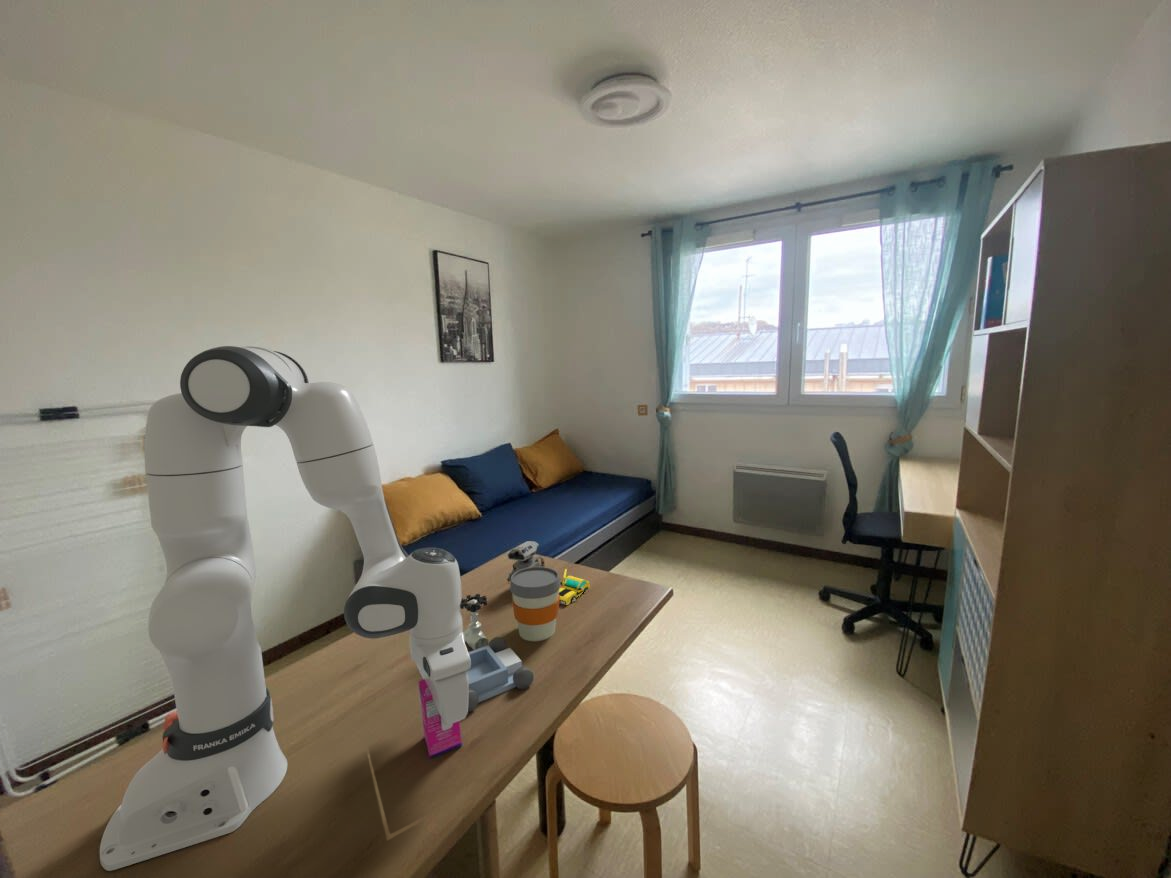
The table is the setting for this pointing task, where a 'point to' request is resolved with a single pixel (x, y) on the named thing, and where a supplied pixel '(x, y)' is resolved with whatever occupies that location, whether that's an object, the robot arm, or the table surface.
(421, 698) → the supplement box
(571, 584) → the toy car
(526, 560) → the figurine
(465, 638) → the valve
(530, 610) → the reusable coffee cup
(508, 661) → the chassis
